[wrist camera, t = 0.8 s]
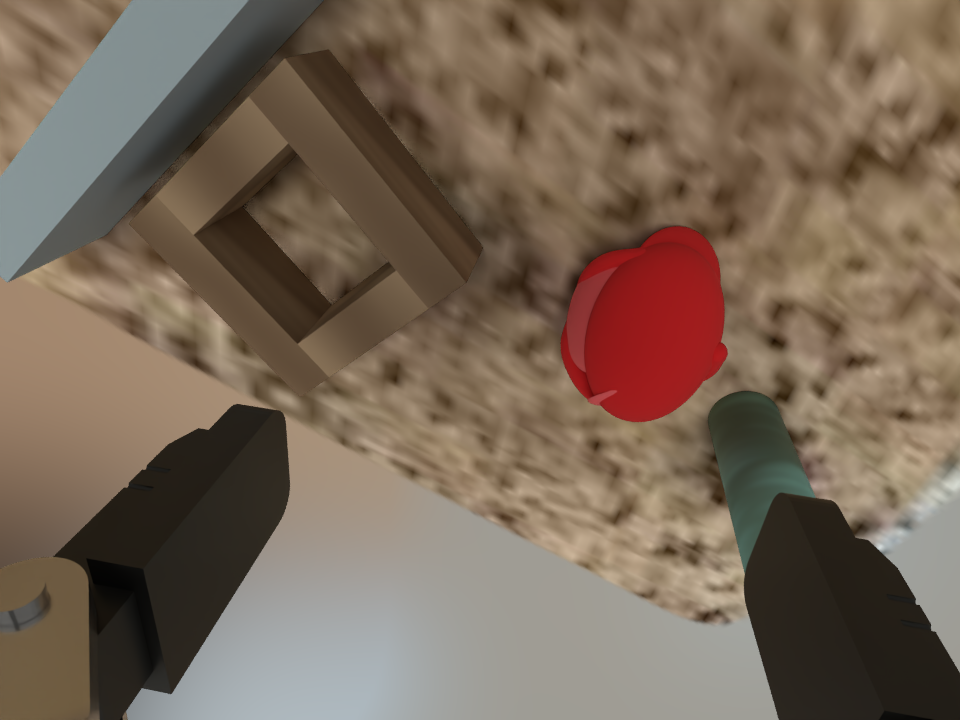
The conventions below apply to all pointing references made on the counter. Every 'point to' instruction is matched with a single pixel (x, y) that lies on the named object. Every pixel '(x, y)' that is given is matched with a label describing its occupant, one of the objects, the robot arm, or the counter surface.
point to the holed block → (358, 189)
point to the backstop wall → (132, 118)
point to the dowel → (753, 461)
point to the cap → (646, 325)
